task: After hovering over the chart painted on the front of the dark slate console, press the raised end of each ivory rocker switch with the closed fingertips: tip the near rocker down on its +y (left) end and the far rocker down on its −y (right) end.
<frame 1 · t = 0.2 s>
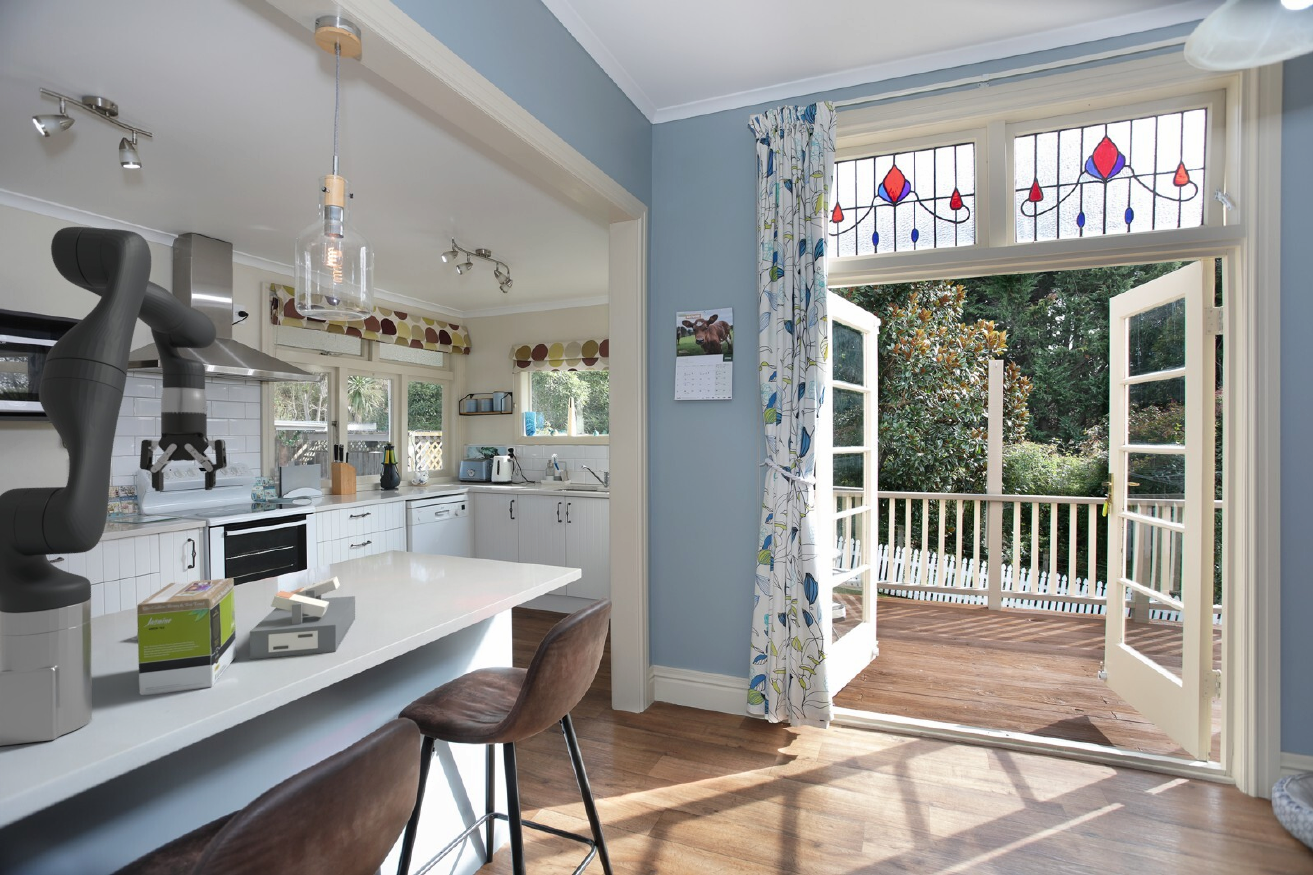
hand: (184, 490, 131), 29 cm above the countertop, tool pointing down, fingers open, 8 cm apart
emergency button: (181, 638, 130), on the countertop
rocker near: (300, 603, 123), point 8 cm above the countertop, hinge at 18.0°
tea box: (191, 677, 108), on the countertop
rocker far: (313, 590, 133), point 8 cm above the countertop, hinge at -18.0°
console: (307, 637, 128), on the countertop
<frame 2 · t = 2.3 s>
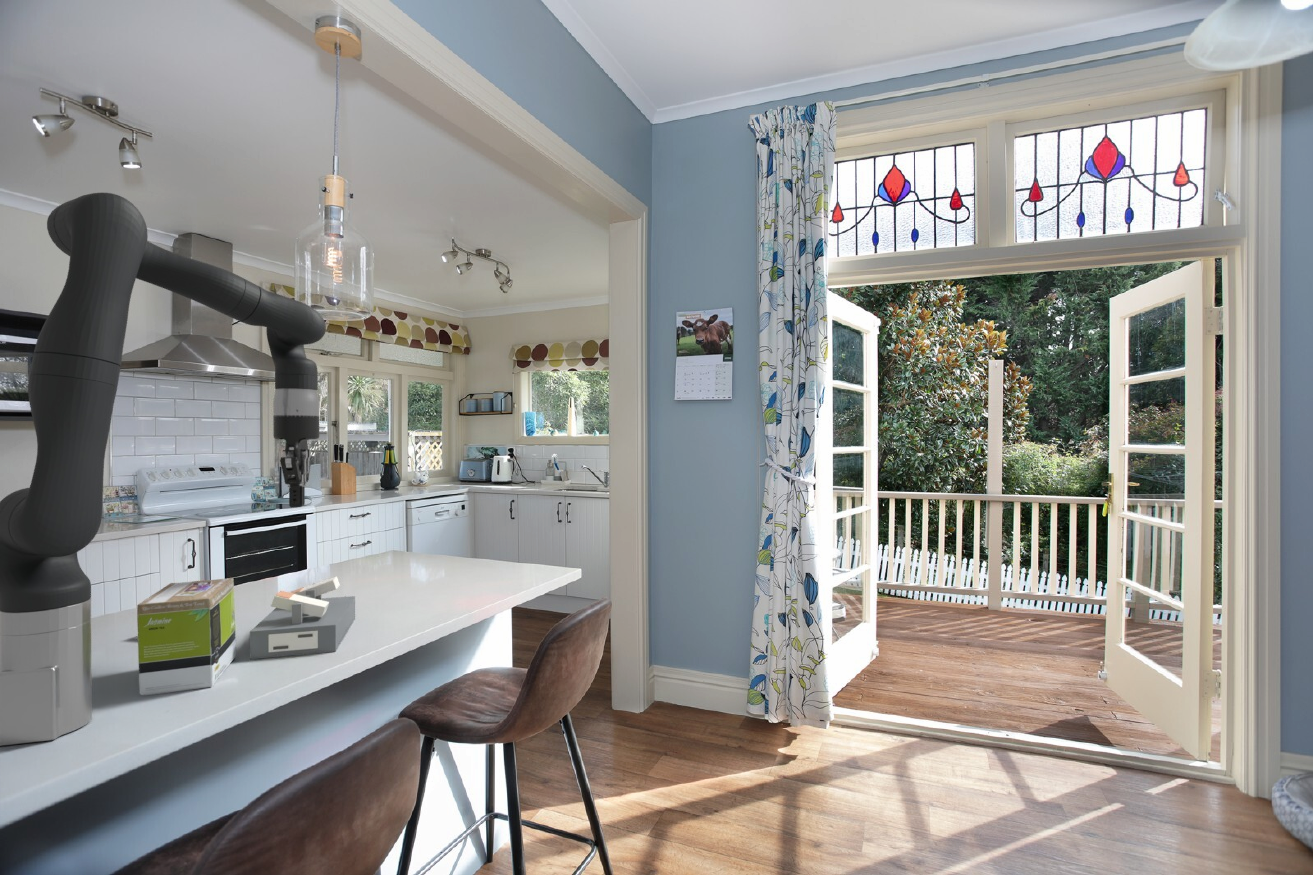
hand: (297, 506, 120), 27 cm above the countertop, tool pointing down, fingers closed
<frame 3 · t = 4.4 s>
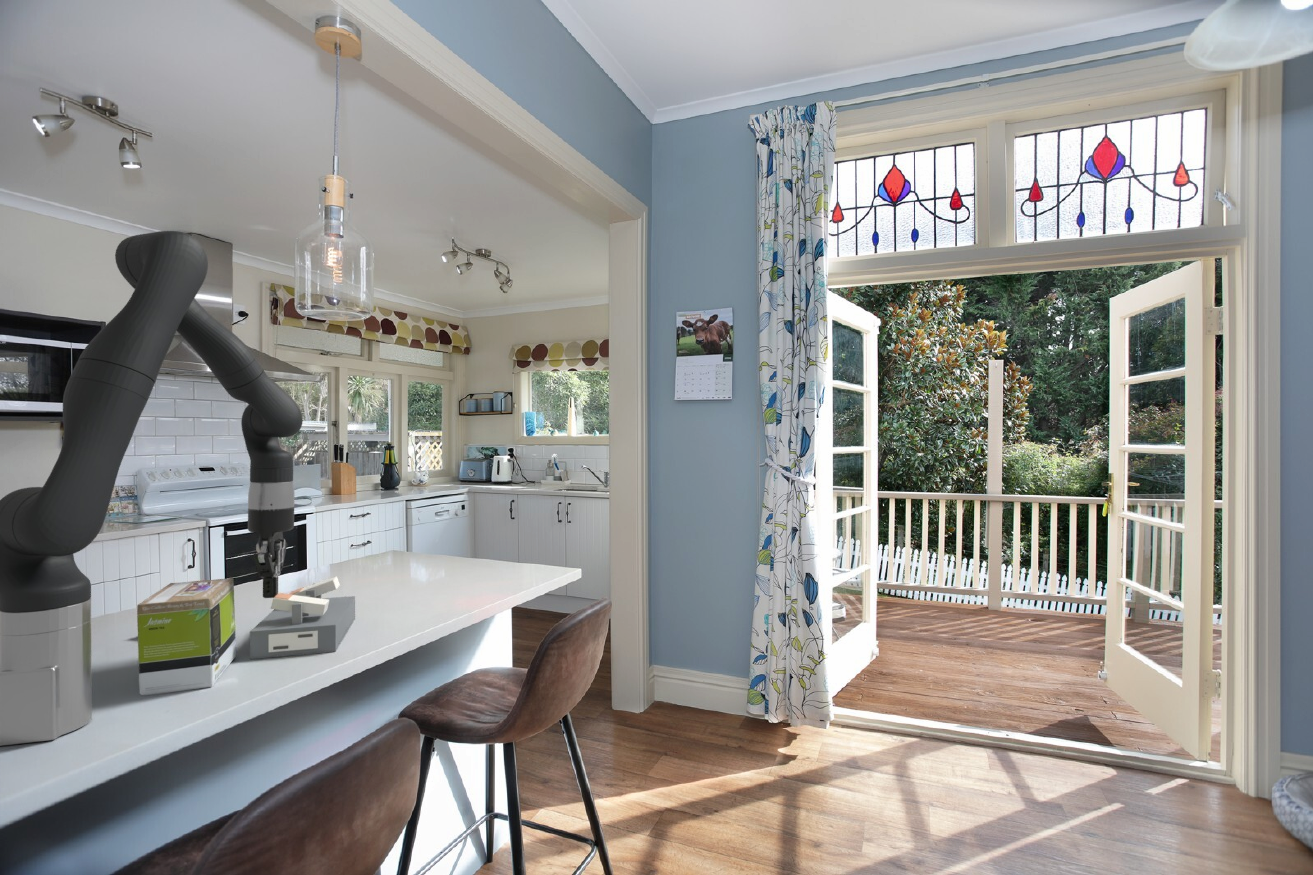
hand: (270, 596, 121), 10 cm above the countertop, tool pointing down, fingers closed
rocker near: (300, 603, 123), point 8 cm above the countertop, hinge at 12.3°, touching gripper
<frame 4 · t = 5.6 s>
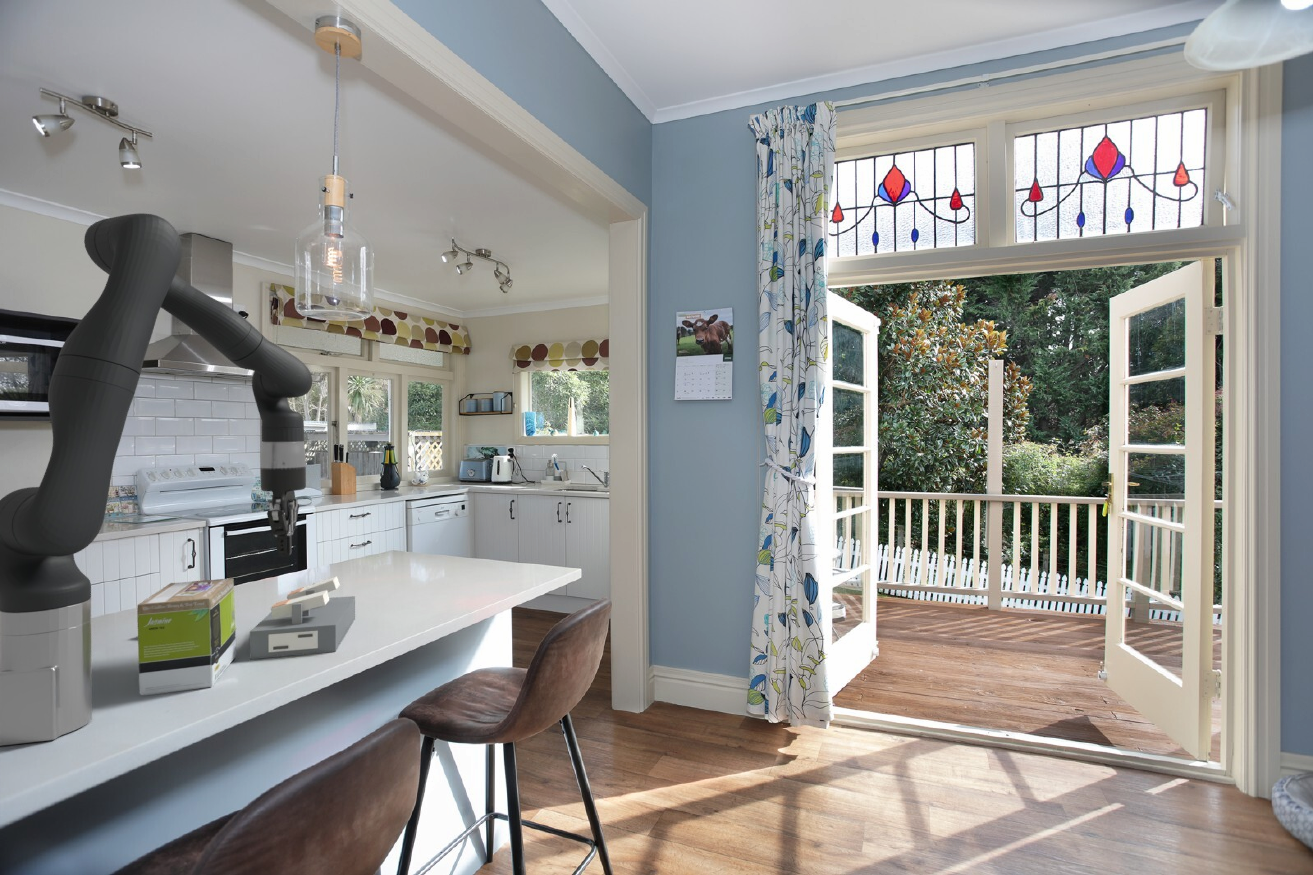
hand: (284, 555, 123), 17 cm above the countertop, tool pointing down, fingers closed
rocker near: (300, 603, 123), point 8 cm above the countertop, hinge at -12.3°
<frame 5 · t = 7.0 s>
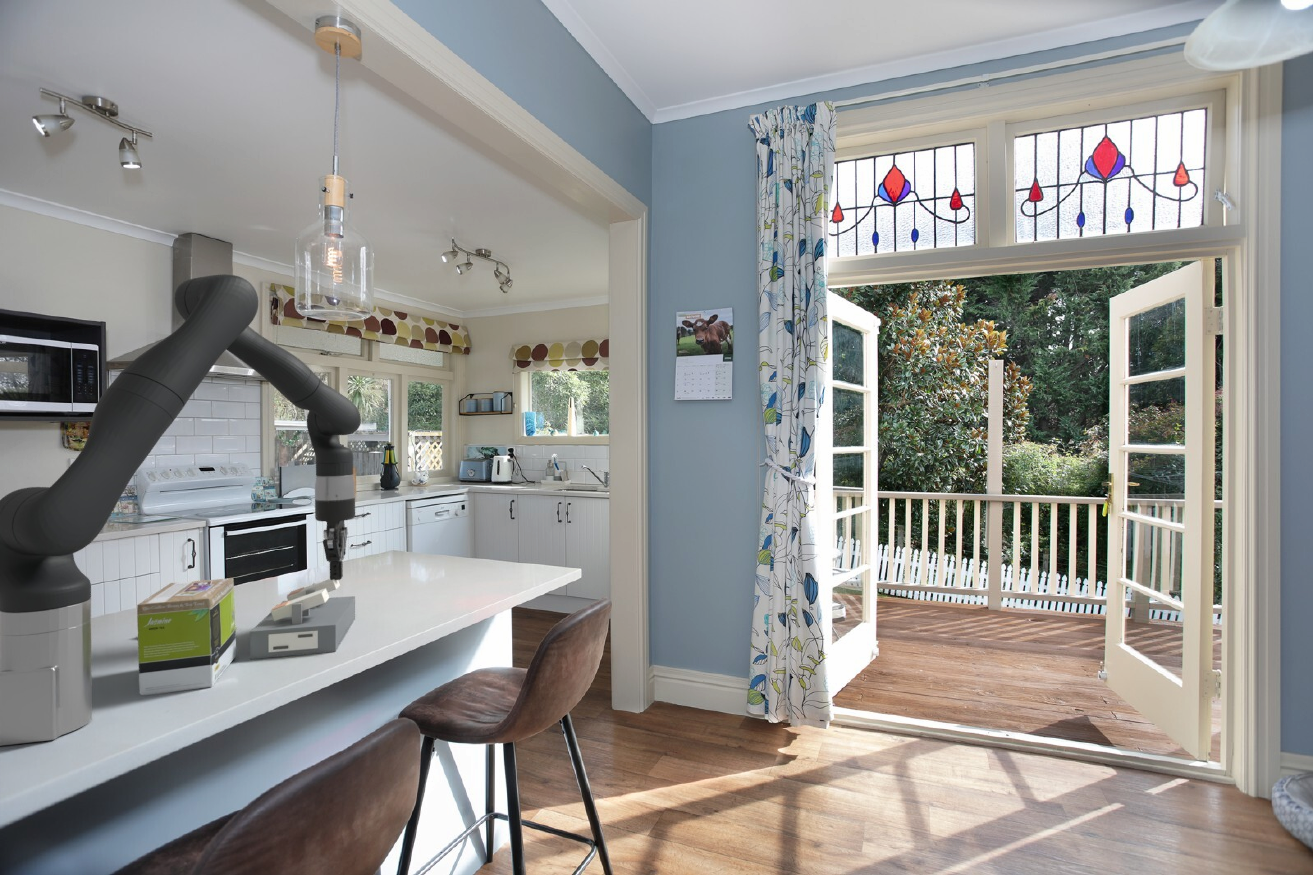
hand: (336, 579, 134), 10 cm above the countertop, tool pointing down, fingers closed
rocker near: (300, 603, 123), point 8 cm above the countertop, hinge at -18.0°
rocker far: (313, 590, 133), point 8 cm above the countertop, hinge at -17.7°, touching gripper
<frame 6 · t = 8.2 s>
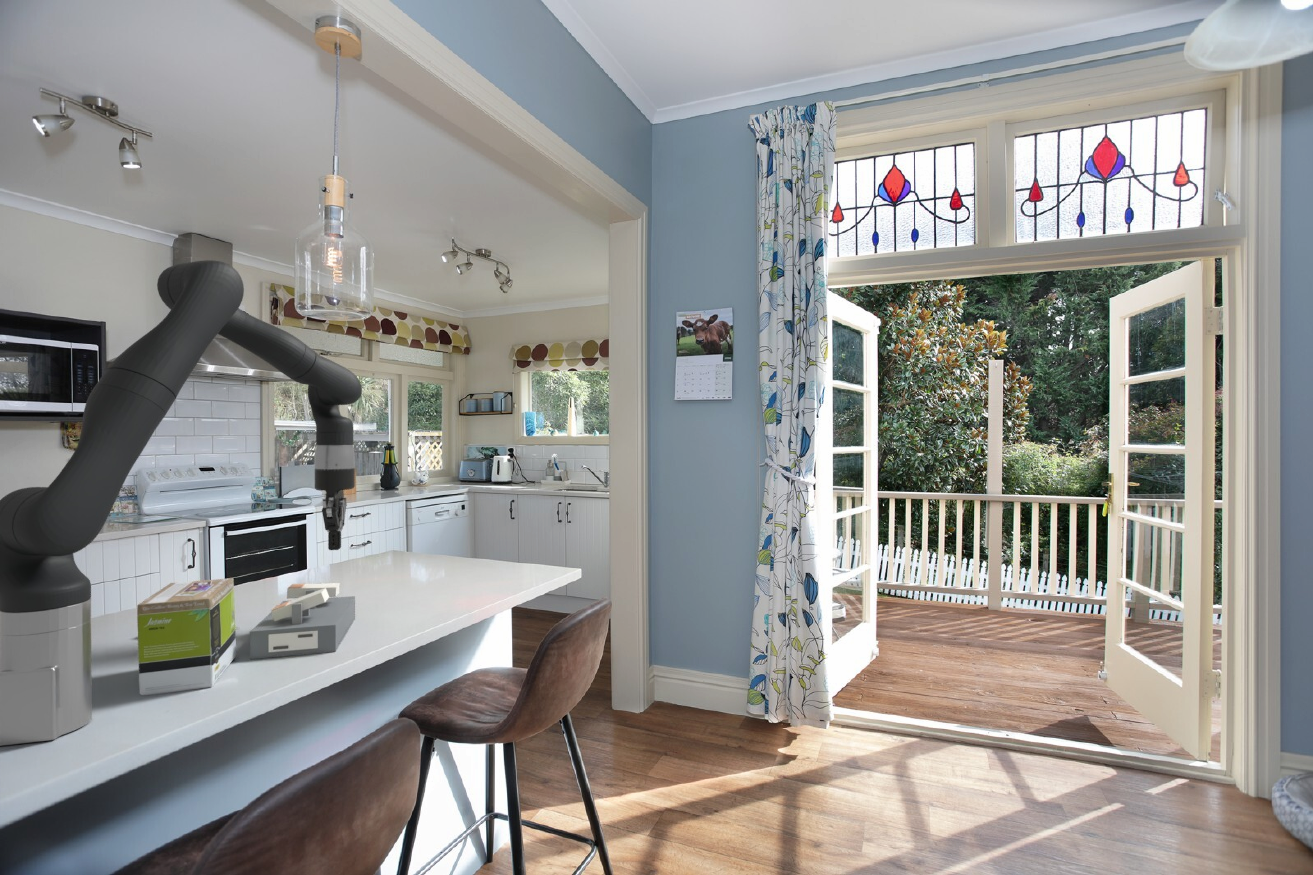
hand: (334, 549, 134), 16 cm above the countertop, tool pointing down, fingers closed
rocker near: (300, 603, 123), point 8 cm above the countertop, hinge at -19.1°
rocker far: (313, 590, 133), point 8 cm above the countertop, hinge at 2.2°
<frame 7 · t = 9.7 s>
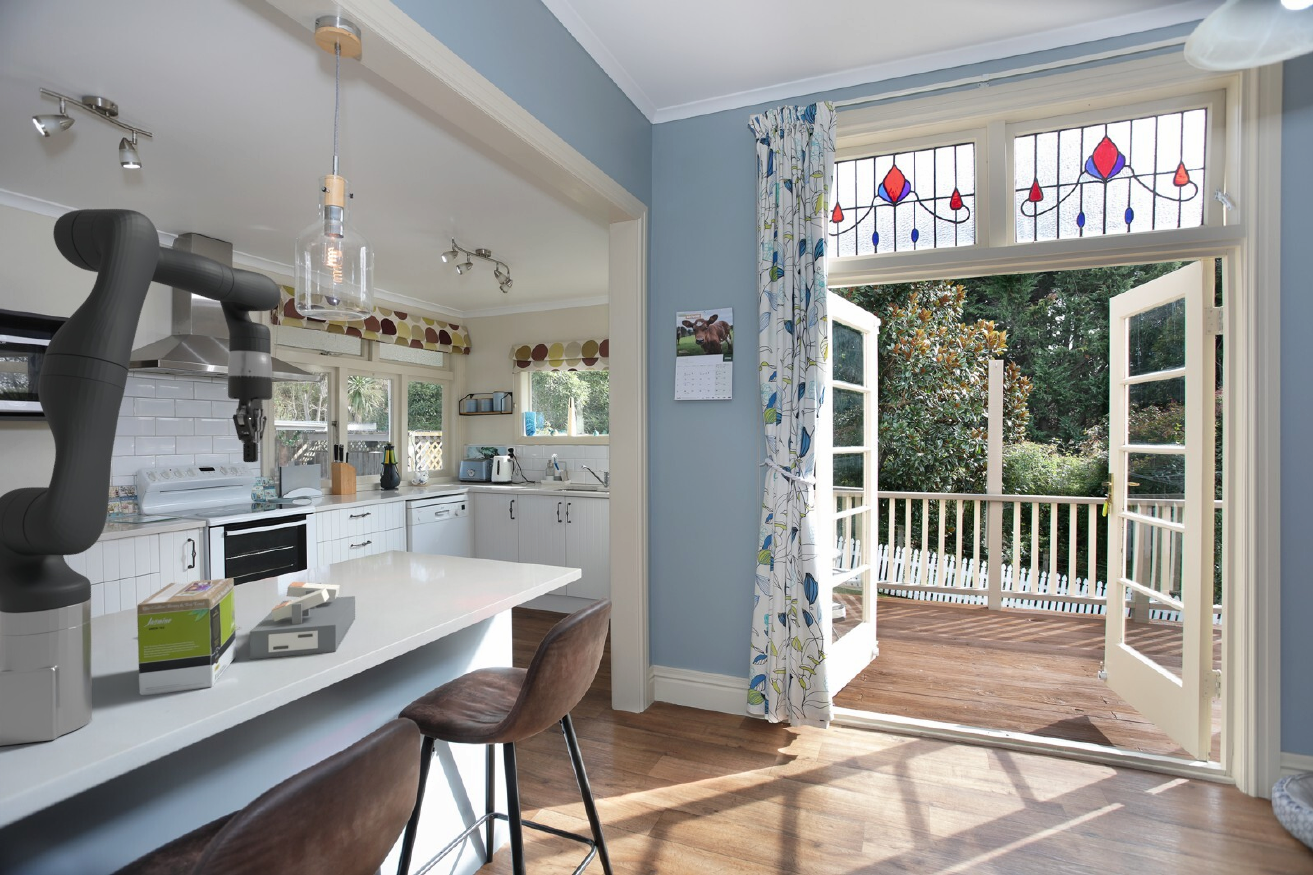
hand: (250, 461, 128), 35 cm above the countertop, tool pointing down, fingers closed
rocker far: (313, 590, 133), point 8 cm above the countertop, hinge at 8.1°
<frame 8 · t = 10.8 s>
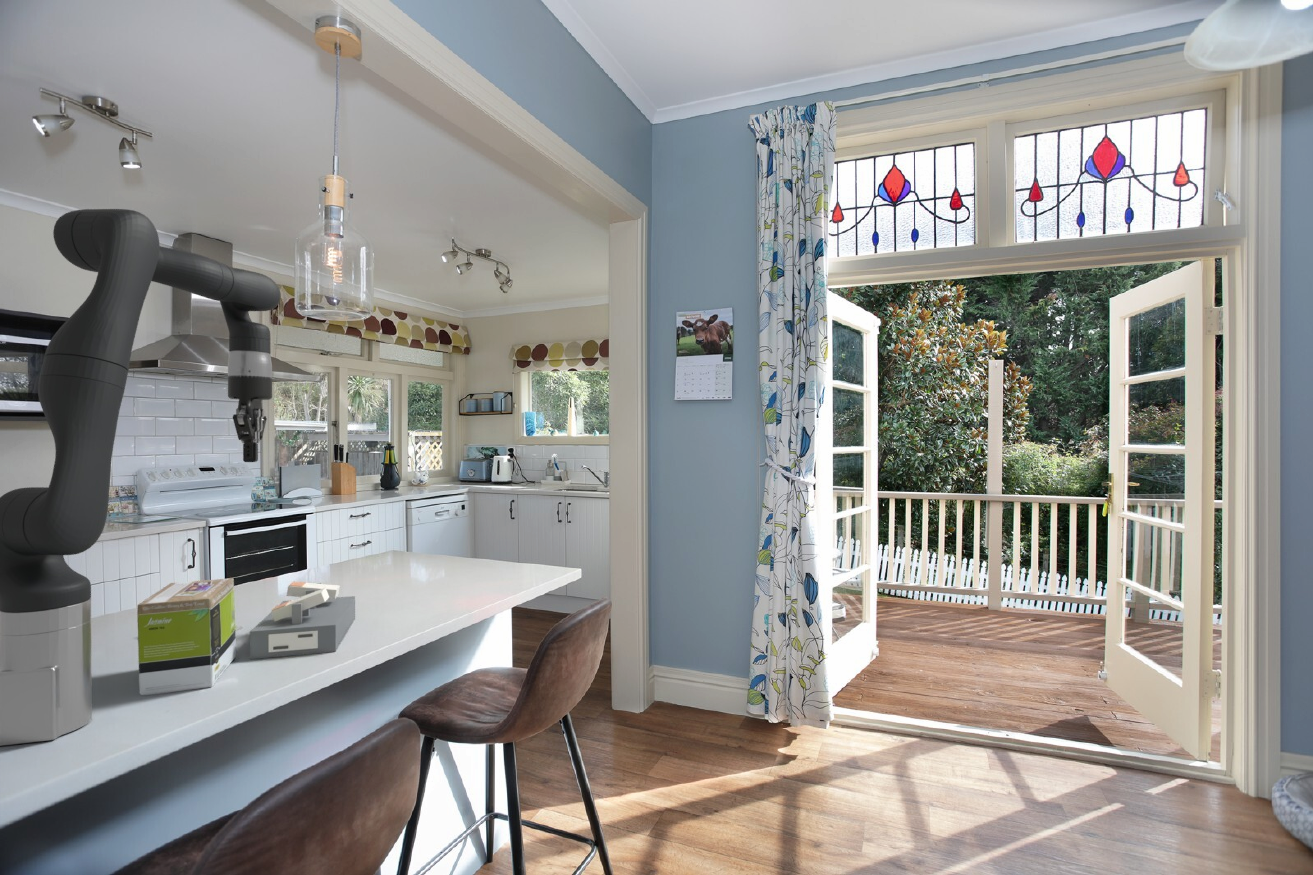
hand: (250, 461, 128), 35 cm above the countertop, tool pointing down, fingers closed
rocker far: (313, 590, 133), point 8 cm above the countertop, hinge at 9.0°
at the end: rocker near at -19° (first picture: +18°); rocker far at +9° (first picture: -18°) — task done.
